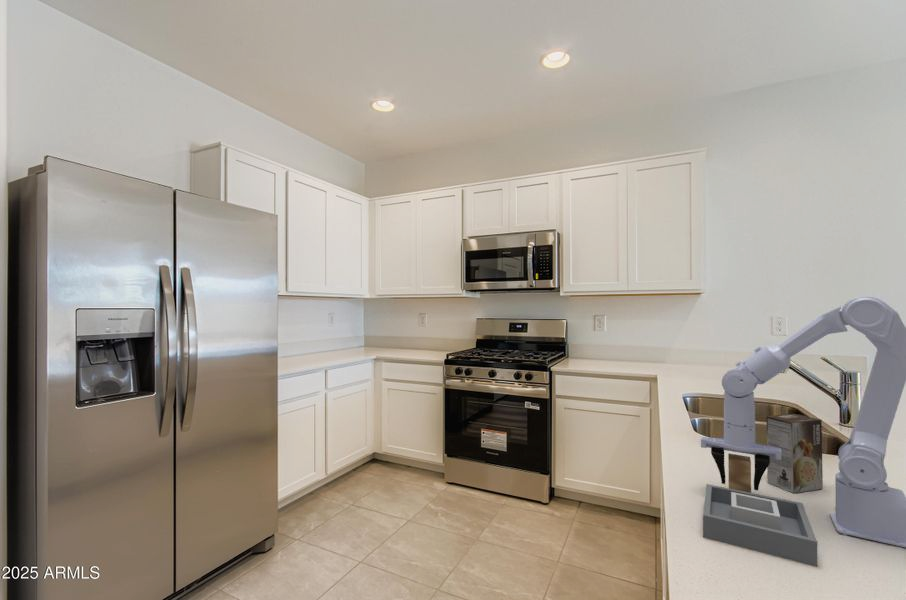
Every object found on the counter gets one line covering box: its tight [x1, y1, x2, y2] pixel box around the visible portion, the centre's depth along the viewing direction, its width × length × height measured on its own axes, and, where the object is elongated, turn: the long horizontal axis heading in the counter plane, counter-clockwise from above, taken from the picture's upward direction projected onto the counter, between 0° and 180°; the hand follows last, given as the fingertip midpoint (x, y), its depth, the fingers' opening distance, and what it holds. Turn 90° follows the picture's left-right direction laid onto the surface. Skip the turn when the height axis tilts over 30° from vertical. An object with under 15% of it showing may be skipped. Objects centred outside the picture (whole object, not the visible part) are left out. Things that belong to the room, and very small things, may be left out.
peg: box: [727, 453, 752, 493], centre depth 93 cm, size 4×4×9 cm
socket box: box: [702, 483, 818, 567], centre depth 80 cm, size 16×16×5 cm
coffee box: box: [766, 413, 824, 494], centre depth 99 cm, size 9×6×16 cm
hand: (739, 485), depth 93 cm, fingers open, 5 cm apart
